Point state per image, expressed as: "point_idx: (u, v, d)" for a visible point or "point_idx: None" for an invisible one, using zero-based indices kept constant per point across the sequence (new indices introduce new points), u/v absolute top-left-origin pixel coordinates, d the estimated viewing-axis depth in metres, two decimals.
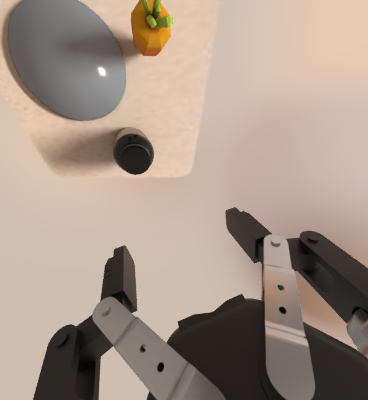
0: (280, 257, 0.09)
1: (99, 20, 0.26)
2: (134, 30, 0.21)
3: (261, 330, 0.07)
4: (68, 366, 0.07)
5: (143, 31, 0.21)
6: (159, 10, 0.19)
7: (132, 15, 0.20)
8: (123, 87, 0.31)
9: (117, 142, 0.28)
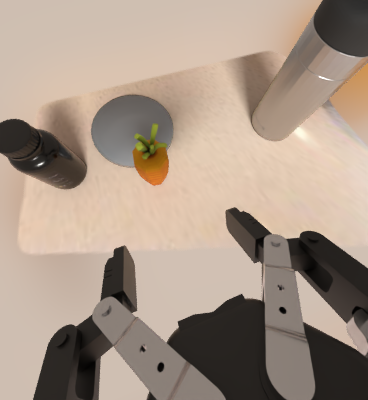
0: (280, 257, 0.09)
1: None
2: None
3: (261, 330, 0.07)
4: (68, 366, 0.07)
5: None
6: (150, 147, 0.20)
7: None
8: (121, 163, 0.33)
9: (48, 132, 0.25)
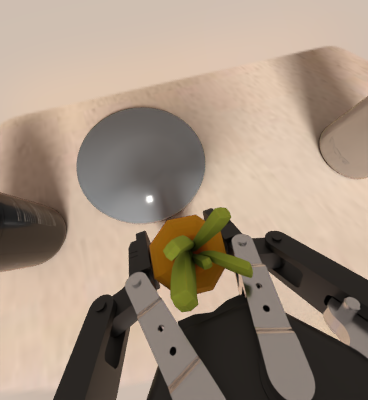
0: (250, 255, 0.09)
1: (193, 192, 0.21)
2: (172, 219, 0.11)
3: (251, 335, 0.06)
4: (102, 332, 0.07)
5: (170, 235, 0.10)
6: (205, 266, 0.08)
7: (192, 215, 0.11)
8: (124, 219, 0.20)
9: None
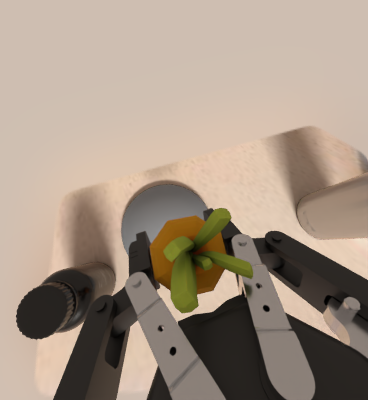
0: (249, 255, 0.09)
1: None
2: (172, 220, 0.11)
3: (251, 335, 0.06)
4: (102, 332, 0.07)
5: (170, 235, 0.10)
6: (205, 267, 0.08)
7: (192, 216, 0.11)
8: None
9: (82, 275, 0.21)
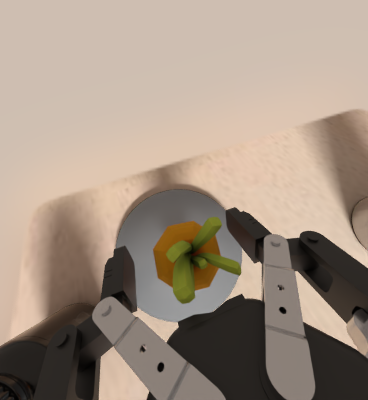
0: (280, 257, 0.09)
1: (232, 285, 0.21)
2: (172, 225, 0.12)
3: (261, 330, 0.07)
4: (68, 366, 0.07)
5: (171, 239, 0.11)
6: (201, 266, 0.09)
7: (190, 221, 0.12)
8: (165, 318, 0.20)
9: (44, 353, 0.12)
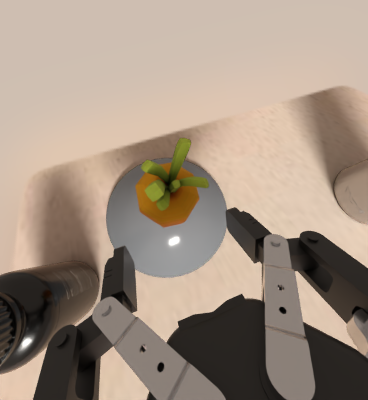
0: (280, 257, 0.09)
1: (217, 244, 0.22)
2: None
3: (261, 330, 0.07)
4: (68, 366, 0.07)
5: (151, 174, 0.12)
6: (174, 185, 0.10)
7: (170, 163, 0.13)
8: (154, 274, 0.21)
9: (36, 281, 0.13)
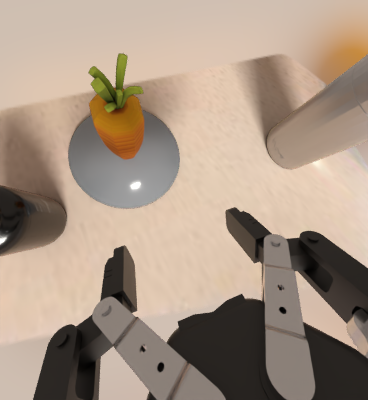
0: (280, 257, 0.09)
1: (171, 182, 0.27)
2: None
3: (261, 330, 0.07)
4: (68, 366, 0.07)
5: None
6: (117, 93, 0.13)
7: None
8: (116, 205, 0.25)
9: (6, 190, 0.16)
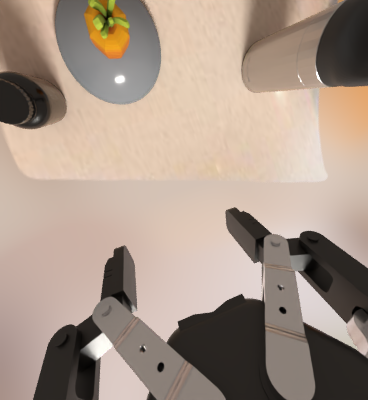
0: (280, 257, 0.09)
1: (150, 86, 0.33)
2: None
3: (261, 330, 0.07)
4: (68, 366, 0.07)
5: None
6: (110, 21, 0.18)
7: None
8: (105, 99, 0.32)
9: (29, 81, 0.22)
